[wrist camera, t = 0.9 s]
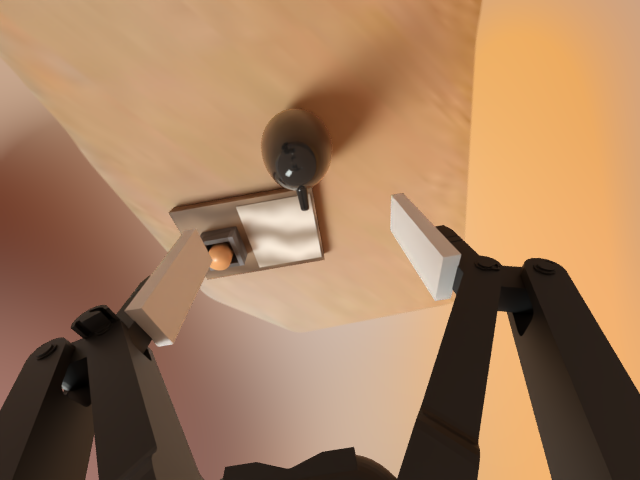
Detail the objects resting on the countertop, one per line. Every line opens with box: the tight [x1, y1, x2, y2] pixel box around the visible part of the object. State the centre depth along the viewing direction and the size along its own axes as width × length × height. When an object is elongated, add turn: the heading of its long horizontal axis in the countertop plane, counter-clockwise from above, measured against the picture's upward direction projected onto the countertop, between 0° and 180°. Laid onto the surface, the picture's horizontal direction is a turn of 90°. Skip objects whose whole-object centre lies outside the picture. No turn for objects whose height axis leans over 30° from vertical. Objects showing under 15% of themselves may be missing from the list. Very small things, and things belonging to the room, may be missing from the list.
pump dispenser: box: [261, 108, 332, 211], centre depth 32 cm, size 10×10×15 cm
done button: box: [209, 242, 234, 270], centre depth 42 cm, size 4×4×3 cm
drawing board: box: [169, 188, 325, 280], centre depth 44 cm, size 16×25×6 cm, turn 99°
